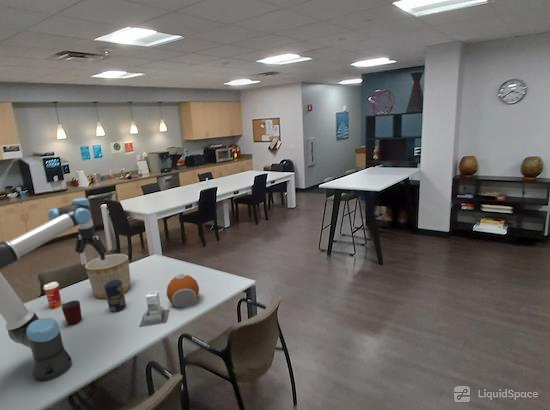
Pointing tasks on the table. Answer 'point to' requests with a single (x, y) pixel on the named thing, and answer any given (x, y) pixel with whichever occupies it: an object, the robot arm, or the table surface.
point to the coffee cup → (53, 294)
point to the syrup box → (153, 303)
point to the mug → (72, 312)
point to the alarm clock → (182, 290)
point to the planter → (108, 273)
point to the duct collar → (154, 318)
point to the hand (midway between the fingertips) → (93, 264)
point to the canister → (115, 295)
